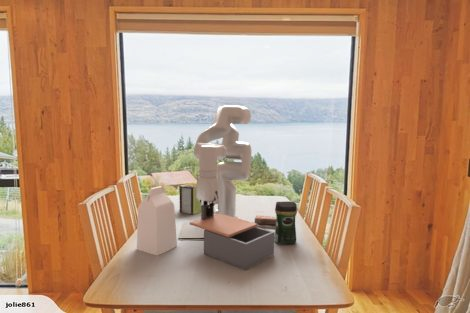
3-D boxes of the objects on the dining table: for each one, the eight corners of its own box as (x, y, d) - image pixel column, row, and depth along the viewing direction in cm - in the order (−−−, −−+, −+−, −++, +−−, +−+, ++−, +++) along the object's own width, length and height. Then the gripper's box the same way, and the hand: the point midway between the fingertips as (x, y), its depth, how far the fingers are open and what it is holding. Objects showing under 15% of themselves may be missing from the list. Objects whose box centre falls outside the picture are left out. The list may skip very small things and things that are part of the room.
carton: (203, 253, 143) (204, 230, 141) (232, 241, 156) (233, 220, 155) (245, 270, 128) (246, 244, 127) (273, 255, 142) (274, 232, 141)
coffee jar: (293, 238, 161) (294, 199, 159) (297, 245, 154) (299, 204, 151) (272, 239, 161) (273, 199, 158) (276, 245, 153) (277, 204, 150)
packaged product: (253, 218, 176) (255, 213, 186) (253, 228, 176) (255, 222, 186) (289, 221, 173) (290, 215, 183) (289, 230, 173) (289, 224, 183)
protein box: (209, 208, 208) (210, 183, 206) (193, 215, 195) (193, 187, 193) (195, 206, 214) (196, 181, 212) (179, 212, 201) (178, 185, 199)
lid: (189, 224, 147) (189, 208, 146) (219, 215, 160) (219, 200, 159) (228, 237, 133) (228, 219, 132) (257, 226, 146) (257, 209, 145)
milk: (156, 255, 140) (156, 192, 137) (136, 249, 146) (135, 188, 143) (177, 246, 150) (176, 186, 147) (157, 240, 156) (156, 183, 153)
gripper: (188, 172, 152) (188, 213, 155) (215, 177, 142) (214, 221, 144) (201, 170, 158) (201, 210, 160) (227, 175, 148) (226, 217, 150)
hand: (207, 215), depth 152 cm, fingers closed on lid
